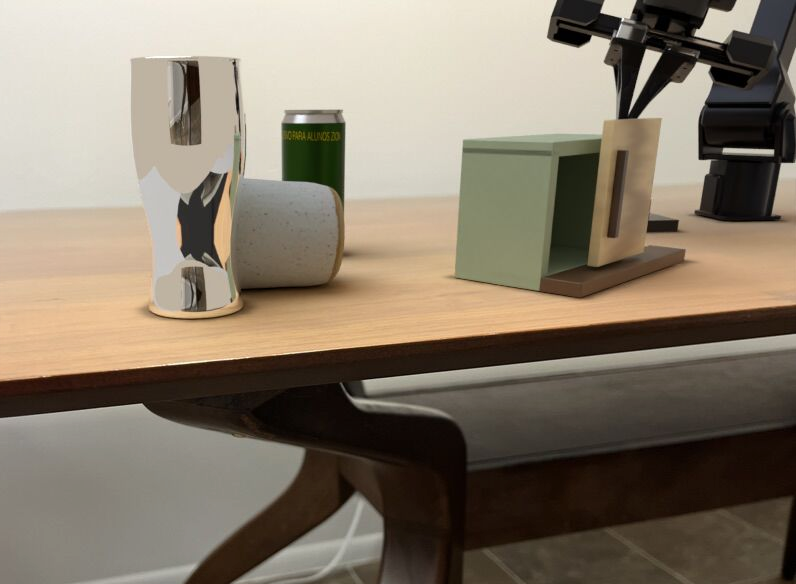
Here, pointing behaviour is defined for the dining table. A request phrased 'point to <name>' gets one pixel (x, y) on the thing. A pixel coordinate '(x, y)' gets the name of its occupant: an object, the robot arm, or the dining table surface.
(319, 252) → the ceramic mug
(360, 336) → the dining table surface
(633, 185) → the door
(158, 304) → the beer glass
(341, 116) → the beer can
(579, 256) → the cabinet
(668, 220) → the block
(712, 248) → the dining table surface
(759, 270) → the dining table surface
